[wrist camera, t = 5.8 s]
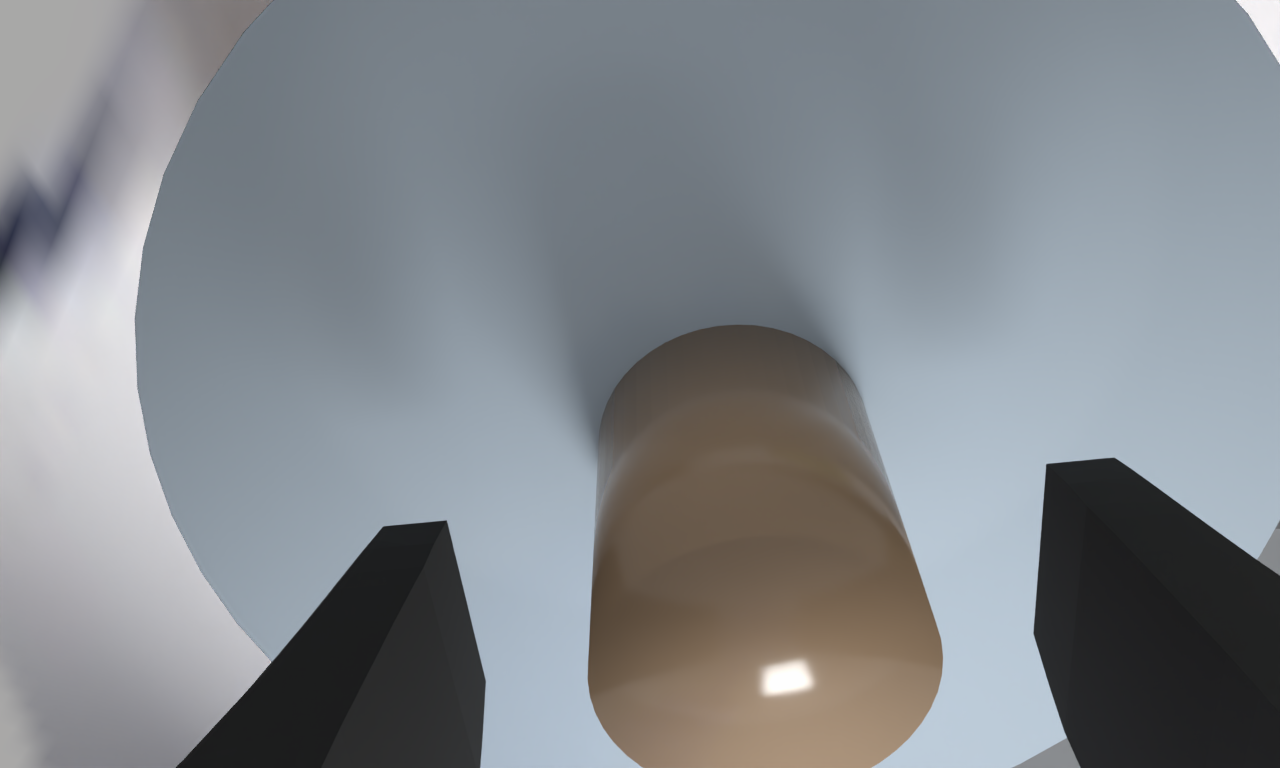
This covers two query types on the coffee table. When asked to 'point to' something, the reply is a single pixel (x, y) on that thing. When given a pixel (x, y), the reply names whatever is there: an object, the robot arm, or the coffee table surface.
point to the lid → (716, 342)
